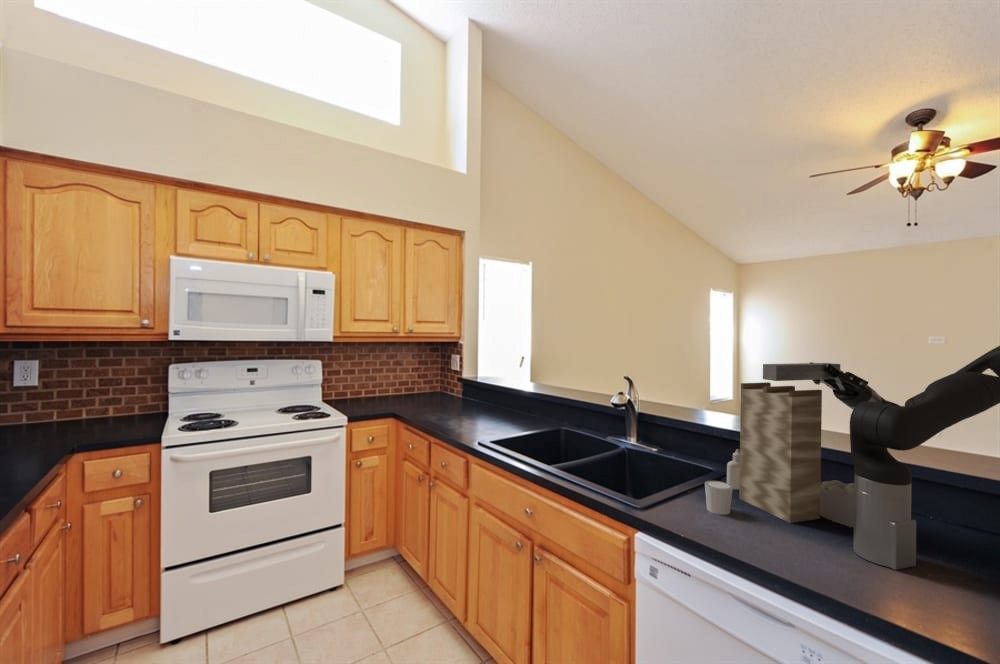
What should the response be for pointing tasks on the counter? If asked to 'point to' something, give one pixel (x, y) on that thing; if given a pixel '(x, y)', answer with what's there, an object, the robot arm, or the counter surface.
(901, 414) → the robot arm
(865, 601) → the counter surface
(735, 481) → the eye dropper bottle
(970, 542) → the counter surface
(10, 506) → the counter surface
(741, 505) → the counter surface
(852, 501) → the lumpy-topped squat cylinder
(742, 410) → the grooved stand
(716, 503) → the white tapered cup
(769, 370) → the metal bar
